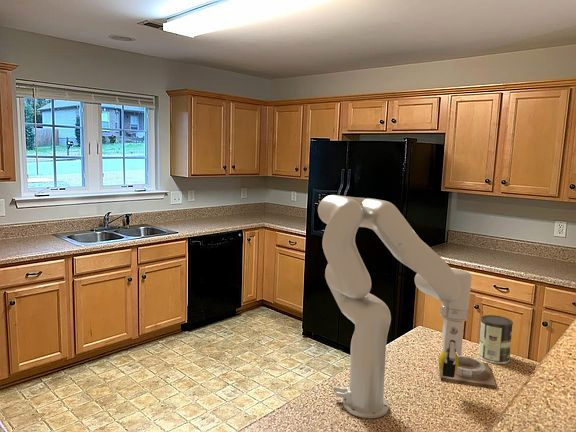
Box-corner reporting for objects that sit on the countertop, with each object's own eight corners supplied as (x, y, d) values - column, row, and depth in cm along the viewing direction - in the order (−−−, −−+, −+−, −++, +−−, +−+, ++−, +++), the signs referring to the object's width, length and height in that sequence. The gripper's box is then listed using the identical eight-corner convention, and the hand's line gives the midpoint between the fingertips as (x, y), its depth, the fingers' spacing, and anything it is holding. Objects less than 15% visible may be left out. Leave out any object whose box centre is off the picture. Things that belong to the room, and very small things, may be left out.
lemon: (458, 380, 128) (461, 353, 127) (438, 377, 129) (441, 351, 128) (455, 372, 133) (458, 346, 133) (436, 369, 134) (438, 344, 134)
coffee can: (504, 353, 162) (507, 315, 161) (513, 365, 152) (517, 326, 151) (474, 350, 164) (477, 313, 162) (482, 362, 154) (485, 323, 152)
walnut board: (440, 380, 140) (440, 377, 140) (438, 359, 156) (438, 356, 156) (495, 388, 136) (495, 385, 136) (487, 366, 151) (488, 363, 151)
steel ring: (448, 375, 142) (449, 367, 142) (446, 360, 153) (447, 353, 152) (485, 380, 139) (486, 372, 139) (481, 365, 150) (481, 358, 149)
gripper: (471, 323, 120) (463, 387, 122) (464, 306, 136) (458, 362, 138) (441, 319, 122) (435, 382, 124) (438, 302, 138) (433, 358, 140)
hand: (447, 371), depth 131 cm, fingers closed on lemon, 5 cm apart
